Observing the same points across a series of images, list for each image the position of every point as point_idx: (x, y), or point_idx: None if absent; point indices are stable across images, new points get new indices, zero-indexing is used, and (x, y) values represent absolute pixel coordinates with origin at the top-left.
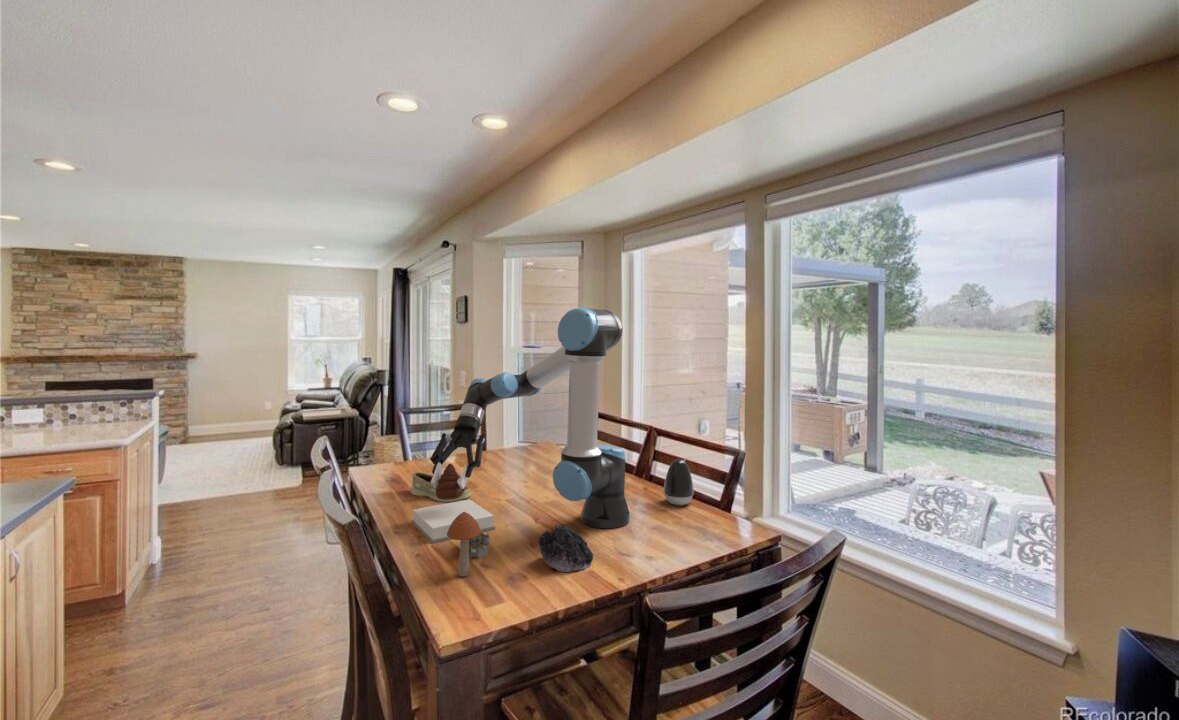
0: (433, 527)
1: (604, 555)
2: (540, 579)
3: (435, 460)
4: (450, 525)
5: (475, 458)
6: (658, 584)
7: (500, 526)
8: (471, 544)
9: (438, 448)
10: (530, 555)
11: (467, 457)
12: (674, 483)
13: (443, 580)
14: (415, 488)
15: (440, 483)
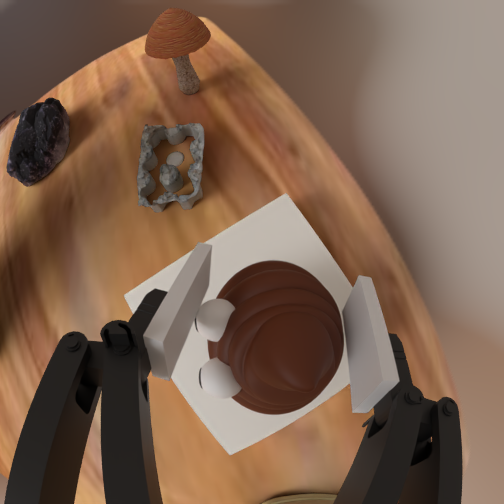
0: (286, 198)
1: (6, 177)
2: (89, 98)
3: (422, 398)
4: (201, 22)
5: (72, 369)
6: (4, 122)
7: (125, 317)
8: (181, 176)
9: (446, 493)
10: (81, 160)
11: (137, 403)
12: None
13: (219, 77)
14: None
15: (322, 292)
